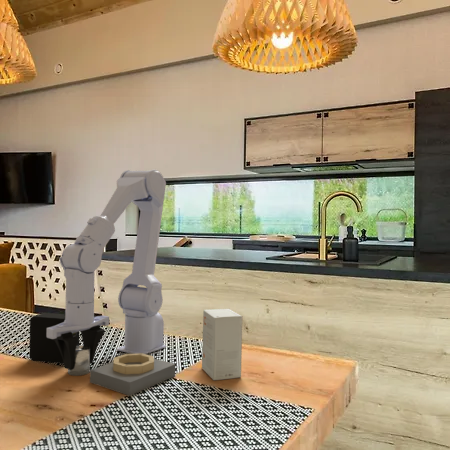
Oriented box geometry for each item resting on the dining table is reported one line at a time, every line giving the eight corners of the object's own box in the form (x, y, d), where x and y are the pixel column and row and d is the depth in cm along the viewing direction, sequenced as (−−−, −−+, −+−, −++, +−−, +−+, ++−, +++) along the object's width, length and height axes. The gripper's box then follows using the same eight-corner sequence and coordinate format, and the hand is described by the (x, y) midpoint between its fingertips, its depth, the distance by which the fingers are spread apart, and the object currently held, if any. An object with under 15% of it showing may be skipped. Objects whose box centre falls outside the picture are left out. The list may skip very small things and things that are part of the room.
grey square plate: (136, 365, 102) (137, 347, 102) (175, 376, 96) (175, 357, 96) (89, 382, 92) (90, 362, 91) (129, 395, 85) (130, 374, 85)
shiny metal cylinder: (80, 367, 100) (80, 344, 100) (94, 371, 98) (94, 348, 98) (63, 372, 97) (63, 349, 97) (77, 377, 94) (77, 353, 94)
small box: (241, 378, 96) (243, 315, 96) (212, 381, 94) (214, 317, 94) (228, 365, 104) (229, 307, 103) (201, 368, 102) (202, 309, 101)
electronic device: (69, 364, 102) (70, 319, 102) (29, 360, 104) (29, 316, 104) (79, 358, 106) (79, 315, 106) (40, 354, 108) (40, 312, 108)
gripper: (94, 294, 105) (93, 353, 105) (37, 303, 93) (36, 370, 93) (116, 298, 101) (115, 359, 102) (59, 308, 89) (58, 378, 89)
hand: (78, 365), depth 97 cm, fingers closed on shiny metal cylinder, 4 cm apart
